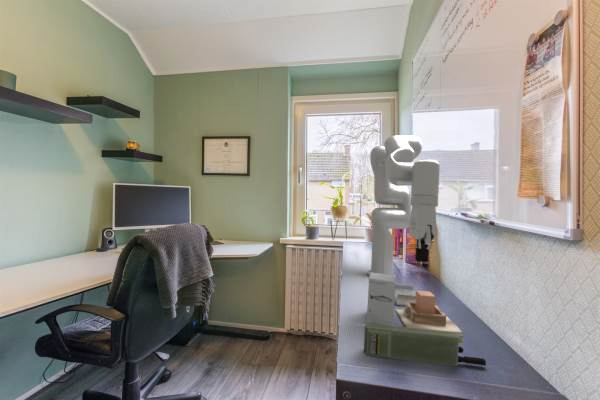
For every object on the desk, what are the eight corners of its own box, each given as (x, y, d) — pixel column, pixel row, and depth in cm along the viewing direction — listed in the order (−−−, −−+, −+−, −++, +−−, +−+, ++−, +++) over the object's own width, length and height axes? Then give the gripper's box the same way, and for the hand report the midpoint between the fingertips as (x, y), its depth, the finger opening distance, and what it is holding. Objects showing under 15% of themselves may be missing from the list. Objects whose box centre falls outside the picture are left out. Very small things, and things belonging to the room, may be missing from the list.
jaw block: (415, 313, 79) (416, 290, 79) (429, 314, 78) (430, 291, 78) (419, 319, 75) (420, 295, 75) (434, 321, 74) (435, 296, 74)
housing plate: (391, 296, 95) (391, 283, 95) (411, 297, 94) (412, 285, 94) (396, 305, 87) (397, 291, 87) (419, 306, 86) (419, 293, 86)
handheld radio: (363, 348, 61) (480, 362, 57) (364, 357, 58) (488, 373, 54) (364, 320, 61) (482, 333, 57) (366, 328, 58) (490, 341, 54)
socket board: (395, 311, 82) (396, 300, 82) (443, 316, 80) (443, 304, 80) (406, 331, 70) (407, 317, 70) (462, 336, 68) (463, 322, 68)
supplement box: (366, 322, 74) (367, 278, 74) (368, 312, 81) (370, 271, 81) (393, 327, 71) (395, 281, 71) (394, 316, 78) (395, 274, 78)
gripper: (404, 200, 88) (402, 255, 88) (419, 201, 73) (416, 266, 73) (428, 201, 87) (425, 256, 87) (448, 202, 72) (444, 268, 72)
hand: (421, 261), depth 80 cm, fingers closed
